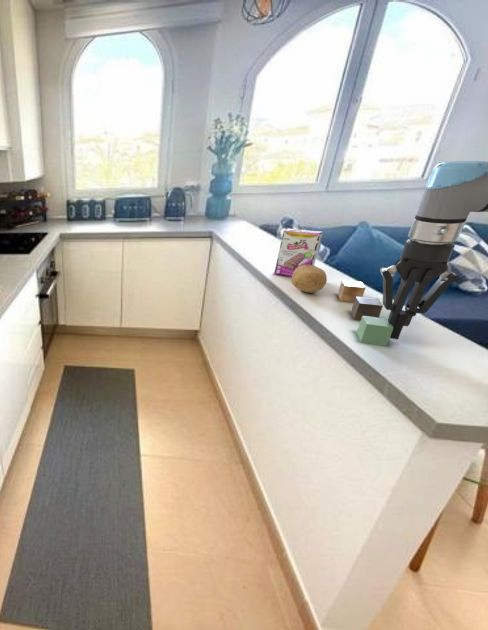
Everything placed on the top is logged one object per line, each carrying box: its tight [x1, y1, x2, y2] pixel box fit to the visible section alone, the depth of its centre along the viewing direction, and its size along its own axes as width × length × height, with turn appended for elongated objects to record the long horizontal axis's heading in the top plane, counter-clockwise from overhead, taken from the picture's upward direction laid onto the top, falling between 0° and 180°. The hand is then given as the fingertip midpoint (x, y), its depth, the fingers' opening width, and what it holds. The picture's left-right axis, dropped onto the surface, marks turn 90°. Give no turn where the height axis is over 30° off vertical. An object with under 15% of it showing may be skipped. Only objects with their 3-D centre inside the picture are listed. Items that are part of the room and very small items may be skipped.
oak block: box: [337, 279, 366, 303], centre depth 105 cm, size 5×5×5 cm
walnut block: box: [350, 296, 384, 321], centre depth 94 cm, size 5×5×5 cm
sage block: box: [356, 316, 394, 346], centre depth 85 cm, size 5×5×5 cm
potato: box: [291, 264, 328, 293], centre depth 113 cm, size 10×14×8 cm
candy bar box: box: [274, 227, 324, 278], centre depth 123 cm, size 11×5×16 cm, turn 46°
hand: (392, 336), depth 83 cm, fingers closed
